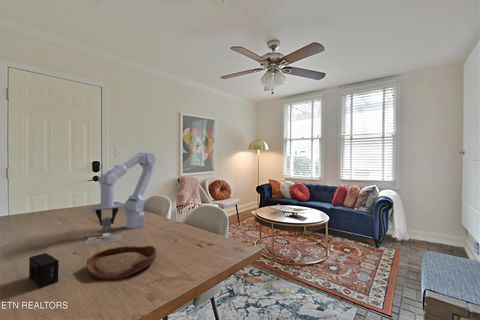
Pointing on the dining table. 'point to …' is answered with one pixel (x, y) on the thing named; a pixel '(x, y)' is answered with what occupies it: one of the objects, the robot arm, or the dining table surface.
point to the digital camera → (43, 270)
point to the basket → (120, 261)
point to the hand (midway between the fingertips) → (106, 224)
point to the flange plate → (104, 239)
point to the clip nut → (106, 223)
